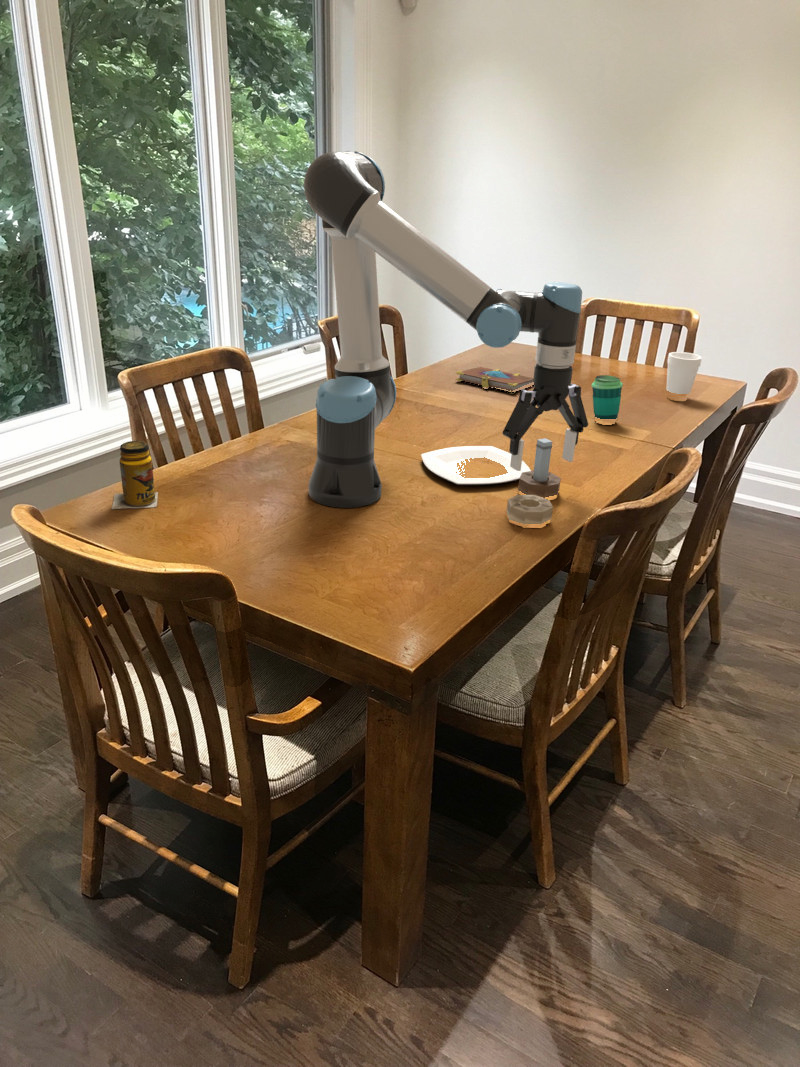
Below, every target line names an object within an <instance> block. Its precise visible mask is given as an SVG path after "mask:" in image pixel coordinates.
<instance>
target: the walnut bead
mask: <svg viewBox="0 0 800 1067" xmlns="http://www.w3.org/2000/svg"><path fill="white" fill-rule="evenodd" d="M533 472H534V470H531V471H528V472H522V474H521V476H520V478H519V480H518V487H517V488H518V489H517V491H518V490H519V491H521V492H522V493H524V494H526V495H536V496H539V497H543V498H545V497H549V496H554V495H557V494H558V491H559V492H560V488H561V480H562V478H561V477H560V476H558V475H557V474H554V473H552V472H551V471H550V472H548V480H547V481H543V482H542V481H535V480H533ZM558 495H559V494H558Z"/></svg>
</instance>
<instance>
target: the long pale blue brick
mask: <svg viewBox="0 0 800 1067" xmlns="http://www.w3.org/2000/svg"><path fill="white" fill-rule="evenodd" d="M535 447H536V448H535V457H534V464H533V471H534V472H533V480H535V481H542V482H543V481H547V480H548V472H549V471H550V463H551V456H552V454H551V453H552V449H553V441H552V440H550V439H547V438H540V439H539V438H538V439H536V444H535Z"/></svg>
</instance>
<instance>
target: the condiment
mask: <svg viewBox="0 0 800 1067" xmlns="http://www.w3.org/2000/svg"><path fill="white" fill-rule="evenodd" d="M119 450H120V458H119V469H120V477H121V478H120V479H121V488H122V493H119V492H118V493H114V494H113V502H112V506H111V510H117V509H118V510H121V509H147V508H149V509H150V508H157V506H158V499H159V498H158V497H159V495H158V494H159V492H158V491H156V490H155V489H156V488H155V480H154V471H153V470H154V469H153V459H152V456H150V450H149V445H148V443H147V442H145V441H142V440H141V441H140V440H130V441H126V442H123V443H122V444H121V445H120V446H119Z"/></svg>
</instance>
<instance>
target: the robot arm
mask: <svg viewBox="0 0 800 1067" xmlns="http://www.w3.org/2000/svg"><path fill="white" fill-rule="evenodd" d="M385 181H386V180H385V177H384V173H383V172H382V169H381V168H380V166H379V164H378V163H377V162H376V161H375V160H374V159H373V158H371V157H370V156H368V155H366V154H364V153H362V152H359V151H352V150H347V151H329V152H326V153H323V154H321V155H319V156H317V157H316V158H315V159H314V160H313V161H312V162H311V163H310V164H309V167H308V168H307V170H306V171H305V175H304V180H303V191H304V196H305V198H306V201H307V203H308V205H309V207H310V208H311V209H312V211H313V212H314V213H315V214H316V215H317V216H318V217H320V219H321V225H322V230H323V231H324V232H325V233H327V235H329V236H330V239H331V250H332V262H333V263H332V264H333V274H334V288H335V300H336V311H337V324H338V325H337V326H338V333H339V334H338V336H339V347H340V348H339V349H340V358H339V360H338V361H337V362H336V364H334V374H335V378H330V379H327V380H326V381H323V383H321V384H320V385H319V387H318V389H317V394H316V399H315V407H316V461H315V464H314V466H313V470H312V473H311V475H310V478H309V481H308V495H309V498H310V499H312V500H313V501H314V502H316V503H318V504H320V505H323V506H327V507H332V508H339V509H340V508H341V509H349V508H350V509H351V508H360V507H365V506H368V505H372V504H373V503H375V502H377V501H378V500H379V498H380V499H381V497H382V486H383V485H382V482H381V478H380V475H379V472H378V468H377V465H376V462H375V436H376V435H375V432H376V429H377V427H379V425H380V424H381V423H382V422H383V421H384V420H386V419H387V417H388V416H390V414H391V412H392V410H393V409H394V406H395V404H396V399H397V387H396V383H395V381H394V378H393V377H392V375H391V367H390V361H389V359H387V358H386V357H384V356H383V353H382V350H383V349H382V337H381V322H380V305H379V303H380V302H379V289H378V274H377V273H378V272H377V258H376V257H377V256H376V255H379V256H380V257H381V258H382V259H384V260H385V261H386V262H388V263H389V264H390V265H391V266H393V267H394V268H395V269H396V270H398V271H400V273H402V274H403V275H405V276H406V277H407V278H408V279H410V280H411V281H412V282H414V284H415V285H418V286H419V287H420V288H422V289H423V290H424V291H425V292H427V293H428V294H429V295H430V296H432V297H433V298H435V300H437V301H438V302H439V303H441V304H442V305H444V307H446V308H447V309H449V310H450V311H451V312H453V314H455V315H456V316H457V317H458V318H460V319H461V320H463V322H465V323H466V324H468V325H469V326H470V327H471V328H473V329H474V330H475V331H476V332H477V335H478V337H479V339H480V341H481V342H482V343H483V344H484V345H485V346H488V347H490V348H495V349H499V348H504V347H506V346H508V345H510V344H511V343H513V341H515V340H516V339H517V338H518V336H519V335H520V332H525V333H533V334H534V333H536V334H537V333H538V335H537V336H538V337H537V345H536V351H535V352H536V353H535V359H534V360H535V361H536V362H537V363H535V364H534V370H533V377H532V378H533V380H534V386H533V389H532V390H526V389H522V390H521V391H519V395H518V396H519V397H518V400H517V402H516V404H515V406H514V408H513V411H512V412H511V415H510V417H509V419H508V420H507V423H506V424H505V426H504V428H503V430H502V435H503V436H505V437H507V438H508V439H510V440H509V441H510V442H509V449H508V450H509V452H508V453H510V454H511V464H510V467H512V468H513V469H515V470H517V471H521V464H522V461H523V453H524V446H525V445H524V443H525V440H524V439H522V438H523V437H524V436H525V434H526V433H527V431H528V430H529V429H530V428H531V426H532V425H533V424H534V422H535V421H536V420H537V419H538V417H539V416H540V415H542V414H543V413H544V412H551V411H557V410H558V411H559V413H560V415H561V417H563V419H564V421H565V422H566V424H567V425H568V426H567V427H569V428H566V429H565V432H564V433H565V434H564V441H563V450H562V456H561V458H562V459H563V460H565V461H567V462H569V463H572V462H573V461H574V455H575V449H576V446H578V443H579V442H578V441H579V435H580V433H583V432H584V431H585V430H584V428H588V426H589V421H588V418H587V415H586V414H587V413H586V410H585V407H584V403H583V399H582V387H581V386H580V385H577V384H575V383H572V379H573V378H572V377H573V372H574V371H573V370H574V368H573V366H572V365H573V364H574V361H575V354H576V347H577V339H578V333H579V326H580V318H581V313H582V299H583V298H582V297H583V291H582V289H581V287H580V285H577V284H576V283H571V282H570V283H569V282H556V281H553V282H547V283H545V284H544V286H543V288H542V289H543V290H542V291H541V292H529V291H528V292H527V291H520V290H519V291H516V290H505V289H502V288H497V289H493V288H492V287H491V286H490V285H488V284H487V283H486V282H484V281H483V280H482V279H481V278H480V277H478V276H477V275H476V274H474V273H473V272H472V271H470V270H469V269H468V268H466V266H464V265H463V264H461V263H460V262H459V261H458V260H456V259H455V258H454V257H453V256H451V255H450V254H449V253H448V252H446V251H445V250H444V249H442V248H441V247H440V246H438V245H437V244H436V243H435V242H433V241H432V240H431V239H430V238H428V237H427V236H426V235H425V234H423V233H422V232H421V231H419V229H417V228H416V227H415V226H413V225H412V224H411V223H409V222H408V221H407V220H405V219H404V218H403V217H402V216H400V215H399V214H398V213H397V212H395V211H394V210H393V209H391V208H390V207H389V206H388V205H387V204H385V202H383V200H384V196H385V192H386V191H385V190H386V182H385ZM567 397H569V398H568V399H569V401H570V405H571V408H570V405H569V403H568V402H567V400H566V399H567ZM571 409H572V410H571ZM572 411H573V412H572Z"/></svg>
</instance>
